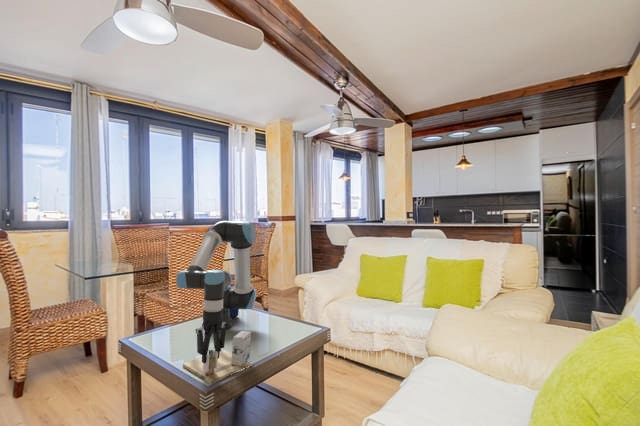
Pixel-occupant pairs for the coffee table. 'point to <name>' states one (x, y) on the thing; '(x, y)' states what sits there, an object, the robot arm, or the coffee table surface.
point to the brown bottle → (211, 363)
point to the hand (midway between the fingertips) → (210, 368)
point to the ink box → (241, 348)
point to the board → (220, 372)
